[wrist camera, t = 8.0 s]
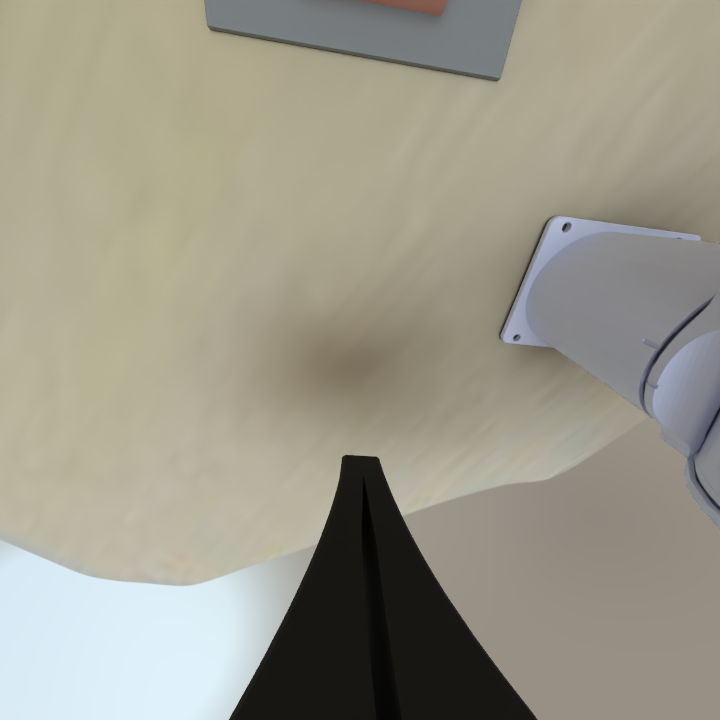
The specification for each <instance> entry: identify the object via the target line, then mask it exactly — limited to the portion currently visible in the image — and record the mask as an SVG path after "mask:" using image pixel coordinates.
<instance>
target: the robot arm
mask: <svg viewBox="0 0 720 720" xmlns="http://www.w3.org/2000/svg"><path fill="white" fill-rule="evenodd" d="M565 223H567V227H566V229H565V230H564V231H562V227H563V225H564V224H565ZM517 334H518V336H517V337H516V338H514V339H513V337H514V336H515V335H517ZM501 339H502V340H503V341H504V342H505V343H511V344H521V345H532V346H542V347H552V348H555V349H556V350H558V351H559V352H560V353H562V354H563V355H565V356H566V357H567V358H569V359H570V360H572V361H573V362H574V363H576V364H577V365H579V366H580V367H581V368H583V369H584V370H586V371H587V372H588V373H590V374H591V375H593V376H594V377H595V378H597V379H598V380H600V381H601V382H602V383H604V384H605V385H607V386H608V387H609V388H611V389H612V390H614V391H615V392H616V393H618V394H619V395H620V396H622V397H623V398H625V399H626V400H627V401H629V402H630V403H632V404H633V405H634V406H636V407H637V408H639V409H640V410H641V411H643V412H644V413H646V414H647V415H648V416H650V417H651V418H653V419H655V420H656V421H657V422H658V423H659V424H660V426H661V435H660V438H661V439H663V440H664V441H665V442H667V443H668V444H669V445H671V446H672V447H673V448H674V449H676V450H677V451H679V452H680V453H681V454H682V455H684V456H685V457H686V458H688V459H687V462H686V463H685V469H684V476H685V480H686V485H687V487H688V489H689V491H690V493H691V495H692V497H693V499H694V500H695V501H696V503H697V504H698V505H699V507H700V508H701V510H702V511H703V512H704V513H705V514H706V515H707V516H708V517H709V518H710V520H711V521H712V522H713V523H714V524H715V525H716V526H717V527H719V528H720V243H713V242H704V241H701V238H700V236H698V235H694V234H686V233H679V232H672V231H665V230H657V229H650V228H643V227H636V226H629V225H621V224H614V223H607V222H600V221H593V220H585V219H578V218H571V217H564V216H555V217H553V218H551V219H550V220H549V221H548V223H547V225H546V227H545V230H544V232H543V234H542V237H541V239H540V242H539V244H538V246H537V249H536V251H535V254H534V256H533V258H532V261H531V263H530V266H529V268H528V271H527V273H526V275H525V278H524V280H523V283H522V285H521V287H520V290H519V292H518V295H517V297H516V299H515V302H514V304H513V307H512V309H511V311H510V314H509V316H508V319H507V321H506V323H505V326H504V328H503V331H502V333H501ZM229 720H537V719H536V717H535V716H534V714H533V713H532V712H531V710H530V709H529V708H528V707H527V705H526V704H525V703H524V701H523V700H522V699H521V698H520V696H519V695H518V694H517V693H516V691H515V690H514V689H513V687H512V686H511V685H510V683H509V682H508V681H507V679H506V678H505V677H504V676H503V674H502V673H501V672H500V670H499V669H498V668H497V666H496V665H495V664H494V662H493V661H492V660H491V658H490V657H489V656H488V654H487V653H486V651H485V650H484V649H483V647H482V646H481V645H480V643H479V642H478V641H477V639H476V638H475V636H474V635H473V634H472V632H471V631H470V629H469V628H468V626H467V625H466V623H465V622H464V620H463V619H462V618H461V616H460V614H459V613H458V611H457V610H456V608H455V607H454V606H453V604H452V603H451V601H450V600H449V599H448V597H447V595H446V594H445V592H444V591H443V589H442V587H441V586H440V584H439V582H438V581H437V579H436V578H435V576H434V574H433V573H432V571H431V569H430V568H429V566H428V564H427V563H426V561H425V560H424V557H423V556H422V554H421V552H420V550H419V548H418V547H417V545H416V543H415V541H414V539H413V538H412V535H411V533H410V531H409V530H408V528H407V526H406V524H405V522H404V520H403V517H402V515H401V513H400V511H399V509H398V507H397V504H396V502H395V500H394V498H393V496H392V493H391V491H390V488H389V486H388V483H387V481H386V478H385V476H384V473H383V470H382V467H381V464H380V461H379V458H378V457H372V456H354V455H345V456H343V457H342V464H341V471H340V479H339V483H338V487H337V491H336V494H335V497H334V501H333V504H332V507H331V510H330V513H329V516H328V519H327V522H326V524H325V527H324V530H323V532H322V535H321V538H320V540H319V543H318V545H317V548H316V550H315V553H314V555H313V557H312V559H311V562H310V564H309V567H308V569H307V571H306V573H305V575H304V577H303V580H302V582H301V584H300V586H299V588H298V590H297V593H296V595H295V597H294V599H293V601H292V603H291V605H290V607H289V609H288V611H287V613H286V615H285V617H284V619H283V621H282V623H281V625H280V627H279V629H278V631H277V633H276V634H275V636H274V638H273V640H272V642H271V644H270V646H269V648H268V650H267V652H266V654H265V656H264V658H263V660H262V661H261V663H260V665H259V667H258V669H257V670H256V672H255V674H254V676H253V678H252V679H251V681H250V683H249V685H248V687H247V688H246V690H245V692H244V694H243V695H242V697H241V699H240V701H239V703H238V705H237V706H236V708H235V710H234V712H233V713H232V715H231V717H230V719H229Z"/></svg>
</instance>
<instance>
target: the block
mask: <svg viewBox="0 0 720 720" xmlns="http://www.w3.org/2000/svg"><path fill="white" fill-rule="evenodd" d="M361 1H366V2H371V3H377V4H382V5H387V6H392V7H397V8H402V9H407V10H412V11H417V12H423V13H428V14H433V15H438V16H441V15H442V13H443V11H444V9H445V7H446V5H447V2H448V0H361Z"/></svg>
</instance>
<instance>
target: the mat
mask: <svg viewBox="0 0 720 720" xmlns="http://www.w3.org/2000/svg"><path fill="white" fill-rule="evenodd" d="M204 2H205V11H206V20H207V26H208V27H209V28H210V30H215V31H221V32H227V33H232V34H238V35H244V36H249V37H255V38H260V39H266V40H272V41H277V42H283V43H288V44H294V45H300V46H305V47H311V48H316V49H322V50H328V51H333V52H339V53H344V54H350V55H356V56H361V57H367V58H372V59H378V60H384V61H389V62H395V63H400V64H406V65H412V66H417V67H423V68H428V69H434V70H440V71H445V72H451V73H456V74H462V75H468V76H473V77H479V78H484V79H490V80H496V81H498V80H499V79H500V78H501V75H502V71H503V68H504V64H505V60H506V57H507V53H508V49H509V46H510V42H511V38H512V35H513V31H514V27H515V24H516V20H517V16H518V13H519V9H520V5H521V2H522V0H448V2H447V5H446V7H445V9H444V11H443V13H442V15H441V16H438V15H433V14H428V13H423V12H417V11H412V10H407V9H402V8H397V7H392V6H387V5H382V4H377V3H371V2H366V1H361V0H204Z"/></svg>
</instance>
